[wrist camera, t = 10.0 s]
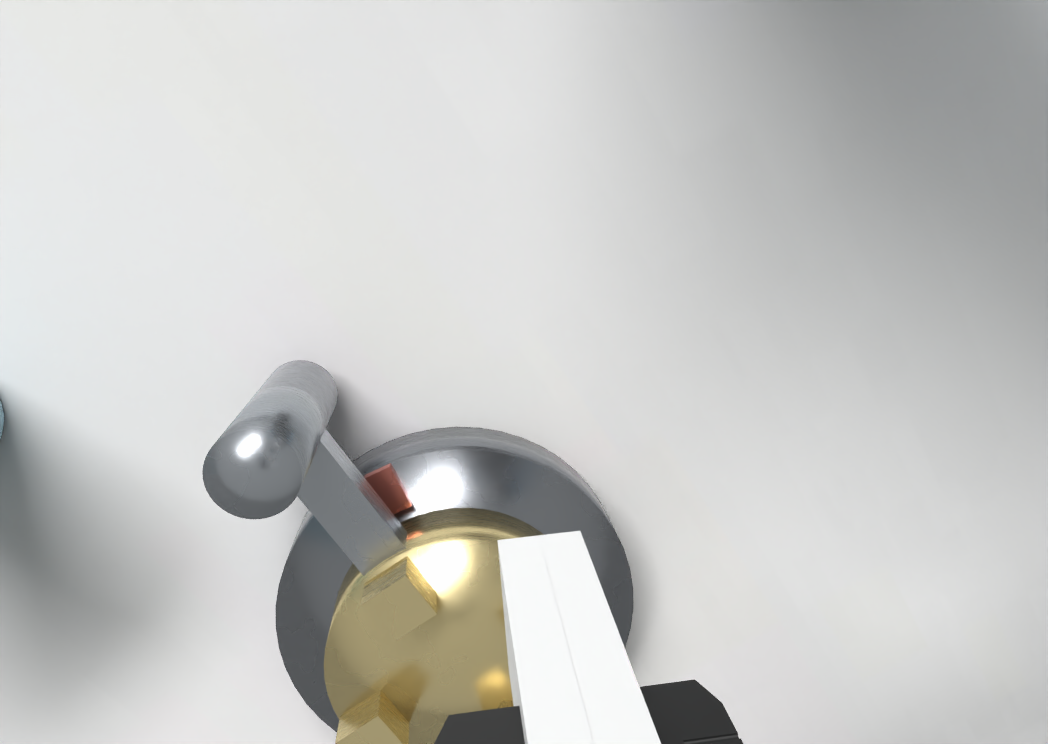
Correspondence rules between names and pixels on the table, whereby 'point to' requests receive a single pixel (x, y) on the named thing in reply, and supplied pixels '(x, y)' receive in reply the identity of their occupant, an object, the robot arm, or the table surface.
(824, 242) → the table surface
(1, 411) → the cup
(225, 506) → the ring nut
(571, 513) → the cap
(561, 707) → the robot arm
